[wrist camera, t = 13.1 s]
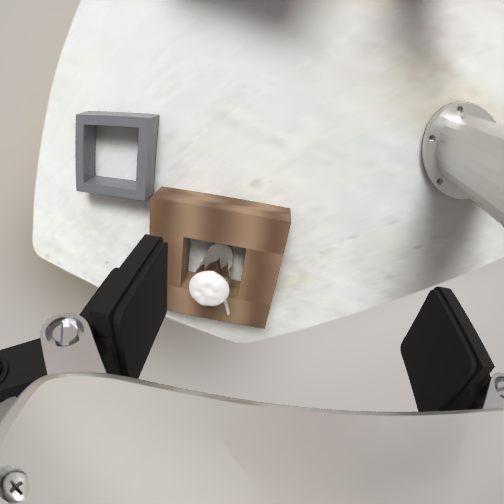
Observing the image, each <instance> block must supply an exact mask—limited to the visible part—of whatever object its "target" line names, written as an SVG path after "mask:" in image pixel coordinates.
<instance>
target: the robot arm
mask: <svg viewBox="0 0 504 504" xmlns="http://www.w3.org/2000/svg"><path fill="white" fill-rule="evenodd" d="M457 107H458V110H457ZM430 136H431V138H430V139H429V137H430ZM422 158H423V163H424V167H425V170H426V173H427V175H428V177H429V178H430V180H431V182H432V183H433V184H434V185H435V186H436V188H437V189H439V190H440V191H441V192H442V193H444V194H445V195H447V196H449V197H452V198H455V199H461V200H464V199H471V200H472V201H473V202H474V203H476V204H477V205H478V206H479V207H481V208H482V209H483V210H484V211H485V212H487V213H488V214H489V215H490V216H491V217H493V218H494V219H495V220H496V221H497V222H498V223H500V224H501V225H502V226H503V227H504V126H503V125H500V124H497V123H496V122H495V120H494V119H493V117H492V116H491V115H490V114H489V113H488V112H487V111H486V110H485V109H483V108H482V107H480V106H478V105H476V104H473V103H469V102H454V103H450V104H448V105H446V106H444V107H442V108H441V109H440V110H439V111H438V112H436V113H435V115H434V116H433V117H432V119H431V120H430V122H429V124H428V126H427V128H426V130H425V134H424V137H423V143H422ZM437 180H438V181H437ZM167 271H168V243H167V242H163V238H162V237H159V236H153V235H148V234H146V235H144V237H143V238H142V239H141V240H140V242H139V243H138V244H137V246H136V247H135V248H134V249H133V251H132V252H131V253H130V255H129V256H128V257H127V259H126V260H125V261H124V262H123V264H122V265H121V266H120V268H114V269H113V270H112V271H111V273H110V274H109V275H108V276H107V278H106V279H105V280H104V282H103V283H102V284H101V286H100V287H99V288H98V290H97V291H96V293H95V294H94V295H93V297H92V298H91V299H90V301H89V302H88V304H87V305H86V306H85V308H84V309H83V311H82V312H81V313H80V315H77V314H73V313H62V314H58V315H55V316H53V317H51V318H50V319H48V320H47V321H46V322H45V323H44V324H43V326H42V329H41V331H40V338H39V339H36V340H32V341H29V342H26V343H22V344H19V345H16V346H12V347H9V348H6V349H2V350H0V504H504V374H503V373H496V374H494V375H493V376H492V377H490V374H489V373H490V372H491V371H492V370H493V368H494V367H495V366H494V364H493V362H492V361H491V358H490V357H489V355H488V353H487V351H486V349H485V347H484V345H483V343H482V342H481V340H480V338H479V336H478V334H477V332H476V331H475V329H474V327H473V325H472V323H471V322H470V320H469V318H468V317H467V315H466V313H465V311H464V310H463V308H462V307H461V305H460V303H459V301H458V300H457V298H456V297H455V295H454V293H453V292H452V290H451V289H449V288H443V287H436V288H434V290H431V291H430V292H429V294H428V296H427V298H426V300H425V302H424V304H423V306H422V307H421V309H420V311H419V313H418V315H417V317H416V319H415V320H414V322H413V324H412V326H411V328H410V330H409V331H408V333H407V335H406V337H405V338H404V340H403V342H402V344H401V354H402V357H403V360H404V363H405V366H406V370H407V373H408V376H409V380H410V383H411V387H412V390H413V393H414V397H415V400H416V404H417V408H418V412H371V411H369V412H368V411H348V410H330V409H318V408H307V407H297V406H287V405H279V404H270V403H264V402H256V401H249V400H243V399H236V398H230V397H225V396H219V395H214V394H208V393H203V392H197V391H192V390H187V389H182V388H177V387H173V386H168V385H164V384H159V383H155V382H150V381H145V380H140V379H138V378H139V376H140V373H141V371H142V368H143V366H144V364H145V361H146V359H147V356H148V354H149V352H150V349H151V347H152V345H153V342H154V340H155V338H156V336H157V333H158V331H159V329H160V326H161V324H162V322H163V320H164V317H165V315H166V311H167Z"/></svg>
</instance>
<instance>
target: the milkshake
mask: <svg viewBox="0 0 504 504" xmlns="http://www.w3.org/2000/svg"><path fill="white" fill-rule="evenodd" d="M232 259H233V253H232V251H231V248H230V247H229V246H227V245H225V244H219V243H215V244H214V245H212V246H210V248H209V250H208V251H207V253H206V255H205V257H204V258H203V260H202V262H201V264H200V266H199V267H198V269H197V270H196V272H195V274H194V275H193V277H192V278H191V280H190V283H189V291H190V294H191V296H192V297H193V298H194V299H195V300H196V301H197V302H198V303H199V304H201V305H205V306H217V305H219V304H221V303H223V302H224V304H225V308H226V312H227V316H228V315H229V314H230V311H229V307H228V303H227V297H228V295H229V288H230V275H231V267H232Z"/></svg>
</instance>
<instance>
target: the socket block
mask: <svg viewBox="0 0 504 504" xmlns="http://www.w3.org/2000/svg"><path fill="white" fill-rule="evenodd" d="M290 224H291V215H290V208H285V207H279V206H274V205H269V204H264V203H258V202H253V201H247V200H241V199H236V198H230V197H224V196H218V195H212V194H206V193H200V192H194V191H188V190H181V189H175V188H168V187H161V188H160V189H159V190H158V191H157V192H156V193H155V194H154V195H153V196H152V197H151V198H150V235H153V236H159V237H162V238H163V242H167V243H168V271H167V310H170V311H175V312H179V313H184V314H189V315H194V316H199V317H204V318H209V319H214V320H219V321H224V322H230V323H235V324H241V325H246V326H252V327H258V328H264V329H265V325H266V321H267V317H268V313H269V309H270V305H271V301H272V298H273V294H274V290H275V286H276V282H277V278H278V274H279V270H280V266H281V261H282V257H283V253H284V249H285V245H286V241H287V237H288V233H289V228H290ZM190 238H192V239H197V240H203V241H208V242H214V243H219V244H225V245H230V246H236V247H241V248H247V250H246V255H245V261H244V267H243V272H242V278H241V281H236V280H231V279H230V288H229V295H228V297H227V303H228V307H229V311H230V314H229V315H228V316H227V312H226V308H225V304H224V302H223V303H221V304H219V305H217V306H205V305H201V304H199V303H198V302H197V301H196V300H195V299H194V298H193V297H192V296H191V294H190V291H189V283H190V280H191V278H192V277H193V275H194V274H195V273H194V272H189V271H188V264H189V250H190Z"/></svg>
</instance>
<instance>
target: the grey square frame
mask: <svg viewBox="0 0 504 504" xmlns="http://www.w3.org/2000/svg"><path fill="white" fill-rule="evenodd" d="M158 123H159V115H154V114H140V113H124V112H99V111H88V112H84V113H80V114H77V115H76V188H77V191H81V192H88V193H95V194H102V195H109V196H115V197H122V198H129V199H135V200H142V201H146V200H147V199H148V198H149V197H150V196H151V195H152V194H153V193H154V177H155V161H156V147H157V135H158ZM96 125H107V126H123V127H136V128H139V137H138V154H137V177H136V181H132V180H125V179H117V178H109V177H101V176H95V136H96Z"/></svg>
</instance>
